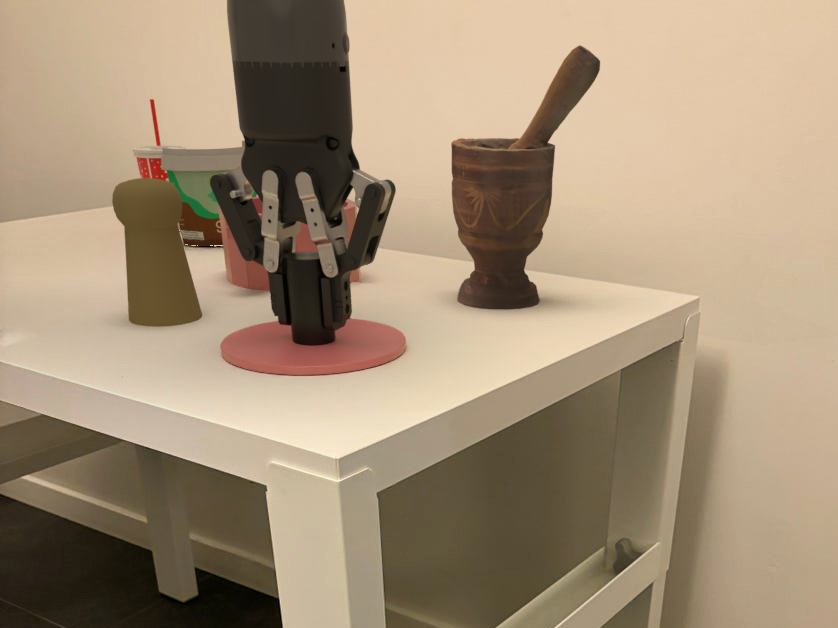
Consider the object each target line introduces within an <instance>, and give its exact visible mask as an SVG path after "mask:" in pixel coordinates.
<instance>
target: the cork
mask: <svg viewBox="0 0 838 628" xmlns="http://www.w3.org/2000/svg"><path fill="white" fill-rule="evenodd" d="M111 203H112V207H113V211H114V214H115V216H116V219H117V220H118V222H120V223H121V224H122V226H123V227H124V228H123V229H124V248H125V249H124V251H125V269H126V287H127V288H126V290H127V291H126V292H127V308H128V310H127V311H128V321H129V322H130V323H131V324H133V325H136V326H142V327H157V328H158V327H160V328H161V327H173V326H182V325H186V324H191V323H194V322H196V321H199V320H200V319H202V317H203V313H202V310H201V306H200V302H199V298H198V294H197V290H196V286H195V283H194V279H193V276H192V272H191V269H190V265H189V262H188V258H187V254H186V250H185V245H184V244H183V239H182V235H181V231H180V232H179V228H178V222H179V220H180V218H181V214H182V201H181V197H180V194H179V192H178V190H177V189H176V187H175V186H174V185H173V184H172V183H170V182H168V181H164V180H160V179H153V178H141V177H139V178H132V179H129V180H125V181H122V182H119V183H118V184H117V185H116V186H115V187H114V189H113V191H112V199H111Z"/></svg>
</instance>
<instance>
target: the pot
mask: <svg viewBox="0 0 838 628" xmlns="http://www.w3.org/2000/svg"><path fill="white" fill-rule="evenodd" d="M251 198H252V201H253V203H254V205H255V208H256V210H257V212H258V214H259V217H260V219H261V221H262V208H263V203H262V201H261V200H260V198H259V197H258V196H257V197H251ZM343 206H344V210H345V215H346V219H347V224H348V228H349V233H348V236H347V239H348V243H349V241H350V237H351V234H352V231H353V227H354V224H355V221H356V217H357V214H358V207H357V206H356V204H355V200H354V201H353V200H351V199H349V198H347V200H346V201H345V203H344V205H343ZM218 209H219V217H220V225H221V233H222V241H223V247H222V248H223V255H224V264H225V271H226V279H227V281H228V282H229V283H230V284H232V285H233V286H236V287H241V288H245V289H248V290H255V291H256V290H257V291H269V292H270V288H269V278H268V273H267V270H266V269H265V268H264V267H263V266H262V265H260V264H258V263H256V262H254V261H246V260H245V259H244V258H243V257H242V255H241V253H240V251H239V249H238V247H237V244H236V242H235V240H234V238H233V235H232V233H231V231H230V229H229V227H228V224H227V222H226V220H225V218H224V215H223V213H222V211H221V209H220V206H219V207H218ZM327 225H328V222H327ZM303 251H316V252H318V249H317V246H316V244H314V243H313V241H312V239H311V236H310V232H309V227H308V225H307V224H304V223H302V222H301V224H300V231H299V233H298V235H297V237H296V247H295V252H303ZM351 283H361V267H360V268H359V269H356V270H352V272H351V274H350V284H351Z"/></svg>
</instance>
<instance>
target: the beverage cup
mask: <svg viewBox="0 0 838 628" xmlns="http://www.w3.org/2000/svg"><path fill="white" fill-rule="evenodd" d="M149 104H150V110H151V111H150V112H151V116H152V118H151V119H152V124H153V130H154V136H155V137H154V138H155V143H156V144H150V145H142V146H141V145H140V146H134V147H132V152H133V157H135V158H136V162H137V167H138V171H139V176H140V177H139V178H153V179H160V180H164V181H168V182H169V178H168V174H167V170H162V169H161V155H163V150H162V148H167V149H187V148H186V146H183V145H172V144H171V145H168V144H161V137H160V131H159V124H158V119H157V117H158V116H157V111H156V104H155V99H153V98H150V99H149ZM178 228H179V230H180V226H179V222H178Z"/></svg>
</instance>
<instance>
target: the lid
mask: <svg viewBox="0 0 838 628" xmlns="http://www.w3.org/2000/svg"><path fill="white" fill-rule="evenodd" d="M285 268H286V278H287V289H288V299H289V310H290V320H291V325H290V326H289V325H281V324H280V323H279V321H278V320H275V321H268V322H263V323H259V324H254V325H251V326H247V327H244V328H241V329H238V330H236V331H234V332H232V333H230V334H228V335H227V336H225V337H224V338H223V339H222V340H221V343H220V353H221V356H222V358H223V359H224V360H225V362H228V363H229V364H231V365H233V366H236V367H238V368H240V369H241V368H242V369H244V370H249V371H252V372H253V371H254V372H259V373H266V374H273V375H274V374H275V375H288V376H317V375H318V376H319V375H332V374H340V373H341V374H342V373H348V372H356V371H360V370H367V369H370V368H374V367H378V366H380V365H383V364H386V363H389V362H391V361H394V360H395V359H397V358H399V357H400V356H402V354H404V353H405V351H406V348H407V338H406V336H405V334H404V333H403V332H402V331H401V330H399V329H398V328H395V327H394V326H390V325H388V324H385V323H380V322H377V321H371V320H366V319H359V318H358V319H357V318H350V319H348V320H346V324H345V326H344V327H342V328H340V329H338V330H327V329H326V328H325V325H324V314H323V301H322V288H321V278H322V277H324V276H325V274H324V272H323V270H322V266H321V262H320V257H319V253H318V252H316V251H303V252H294V253H290V254H287V255H285Z"/></svg>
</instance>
